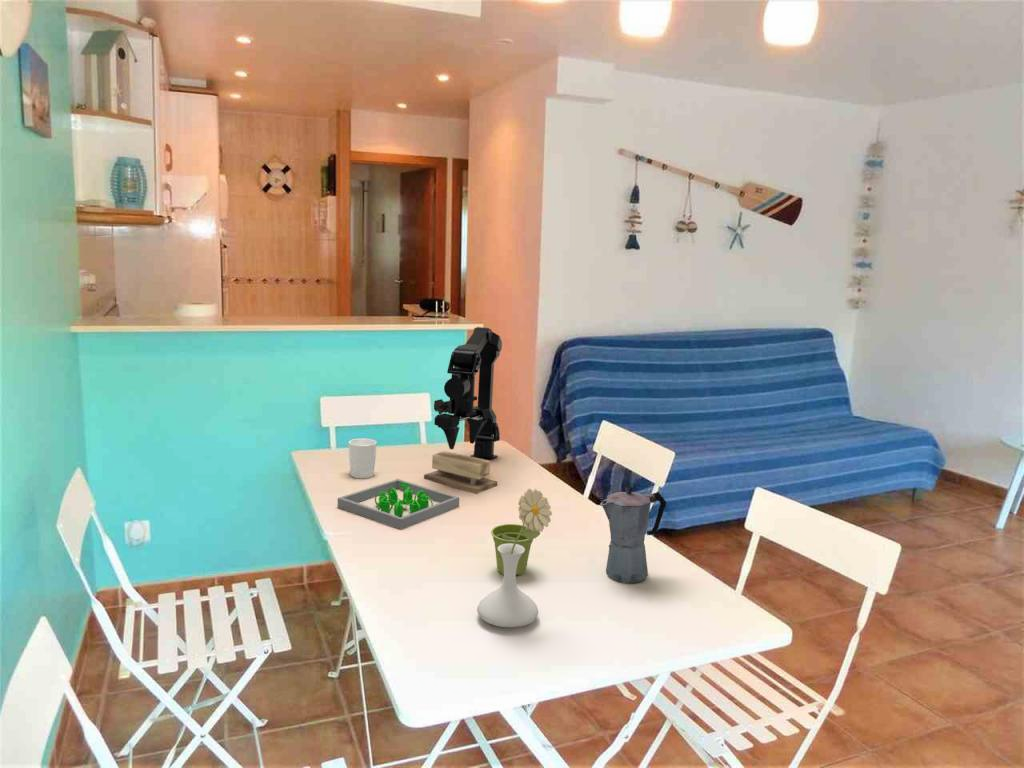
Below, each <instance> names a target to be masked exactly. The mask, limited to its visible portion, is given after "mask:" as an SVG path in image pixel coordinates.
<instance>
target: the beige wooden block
mask: <svg viewBox="0 0 1024 768" xmlns="http://www.w3.org/2000/svg"><path fill="white" fill-rule="evenodd" d="M470 456H471V455H466V454H461V453H457V452H452V451H449V450H448V451H447V450H444V451H443V450H442V451H440V452H436V453H434V454H432V457H431V458H432V460H431V461H432V463H431V469H434V470H436V471H437V470H441V471H445V472H449V473H453V474H458V475H462V476H466V477H470V478H474V479H481V478H483V477H484V478H486V477H487V476H490V475H491V460H484V459H479V458H475V457H470Z"/></svg>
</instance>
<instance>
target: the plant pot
mask: <svg viewBox="0 0 1024 768" xmlns="http://www.w3.org/2000/svg"><path fill="white" fill-rule="evenodd" d="M522 526H523V524H517V523H504V524H499V525H497V526H494V527H493V528H491V531H490V533H491V536H492V539H493V542H494V549H495V561H496V568H497V569H496V570H498V572H499V573H500V574H501V575H504V564H503V559H502V556H501V554H500V552H499V551H498V546H500V545H502V544H508V543H511V544H514V543H515V541H513V540H510V539H506V538H503V537H502V534H505V535H507V536H509V537H513V538H516V539H517V537H518V535H519V533H520V531H521V528H522ZM525 528H526V527H525V525H524V528H523V530H524V529H525ZM533 542H534V539H532V540H529V539H527V538H526V537H525V536H524V535H523V533H521V535H520V537H519V539H518V541H517V543H516V544H518V545H521V546H522V547H524V548H525V551H524V553H523V554H522V555H521V556H520V558H519V560H518V564H517V569H516V575H519V576H521V575H523V574H524V573H525V572H526V570H527V566H528V561H529V555H530V552H531V551H530V550H531V546H532V543H533Z"/></svg>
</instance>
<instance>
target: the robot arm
mask: <svg viewBox="0 0 1024 768" xmlns="http://www.w3.org/2000/svg"><path fill="white" fill-rule="evenodd" d="M502 349H503V341H502V339H501V336H500V335H499V334H497V333H495V332H494V331H493V329H491V328H489V327H484V326H483V327H482V326H477V327H474V328H473V333H472V334H471V335H470V337H469V338H468V339H467V340H466V342H465V344H461V345H458V346H456V347H455V348H454V350H453V351H452V352H451V355H450V358H449V363H448V367H447V370H446V371H447V374H451V378H449V379H448V380H446V381H445V383H444V386H443V390H444V393H445V396H447V397H448V398H449V400H447V401H446V400H445V401H444V400H443V399H442V398H441V399H436V400H434V403H433V410H434V412H438V414H437V415H436V416H435V417H434V418H433V419H434V420H433V423H434V424H433V425H434V426H437V427H438V428H439V429H441V430H442V431H443V433H444V435H445V438H446V441H447V445H448V448H449V449H450V450H454V449H455V446H456V442H457V440H458V435H459V430H460V426H459V425H460V421H461V422H462V421H465V420H466V421H467V422H468V423H467V424H468V425H469V427H468V431H469V432H468V433H469V434H468V437H469V443H470V444H472V445H473V444H474V445H473V448H474V449H473V454H471V455H469V456H470V457H475V458H479V459H484V460H488V461H491V460H493V459H496V458H498V455H496V454H494V451H495V443H496V442H499V441H500V438H501V437H500V436H501V433H500V427H499V425H498V424H499V423H497V415H496V413H495V412H494V410H493V393H494V390H493V389H494V388H493V387H494V370H495V369H494V368H495V363H496V362H497V360H498V358H499V357H500V354H501V352H502ZM477 373H478V391H477V392H478V393H477V396H476V395H475V388H476V387H475V385H476V383H475V381H476V375H477ZM475 401H477V405H475ZM474 405H475V406H474Z"/></svg>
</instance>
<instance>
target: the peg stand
mask: <svg viewBox="0 0 1024 768" xmlns="http://www.w3.org/2000/svg"><path fill="white" fill-rule="evenodd" d="M423 478H424V479H425V480H427V481H431V482H434V483H436V484H437V483H438V484H441V485H445V486H448V487H450V488H455V489H458V490H461V491H465V492H469V493H471V494H479V493H482V492H485V491H486V490H489V489H492V488H495V487H497V486H498V481H497V480H493V479H489V478H486V477H483V478H481V479H474V478H470V477H466V476H462V475H458V474H453V473H449V472H445V471H441V470H437V469H436V470H435V471H432V472H429V473H425V474H423Z"/></svg>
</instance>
